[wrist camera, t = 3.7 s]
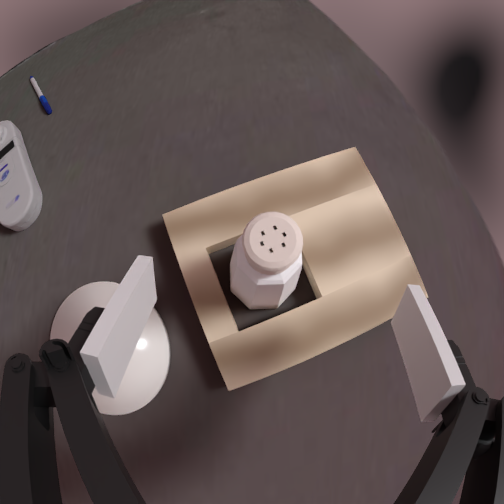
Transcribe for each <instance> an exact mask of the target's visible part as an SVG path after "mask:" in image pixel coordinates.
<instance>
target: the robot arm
mask: <svg viewBox="0 0 504 504" xmlns="http://www.w3.org/2000/svg"><path fill="white" fill-rule="evenodd" d="M156 301H157V295H156V286H155V277H154V268H153V257H149V256H141V255H138V257H137V258H136V260H135V261H134V263H133V264H132V266H131V267H130V269H129V271H128V272H127V274H126V275H125V277H124V278H123V280H122V282H121V283H120V285H119V286H118V288H117V290H116V291H115V293H114V294H113V296H112V298H111V299H110V301H109V303H108V304H107V306H106V308H101V307H96V306H95V307H94V308H93V309H91V310H90V311H89V312H87V313H86V315H85V317H84V318H83V320H82V323H80V325H79V326H78V329H76V331H75V333H74V334H73V336H72V338H71V339H70V341H69V343H67V342H66V341H64V340H63V339H51V340H49V341H47V342H46V343H44V344H43V345H42V347H41V349H40V351H39V357H40V359H41V360H42V362H31V360H30V358H29V357H28V356H27V355H25V354H21V353H18V354H15V355H13V356H11V357H10V358H9V359H8V360H7V362H6V364H5V368H4V375H3V383H2V392H1V401H0V504H62V500H61V493H60V487H59V479H58V472H57V463H56V452H55V440H54V422H53V407H57V411H58V414H59V417H60V421H61V424H62V427H63V430H64V433H65V436H66V438H67V441H68V444H69V447H70V450H71V452H72V455H73V457H74V460H75V462H76V465H77V467H78V470H79V472H80V475H81V477H82V479H83V482H84V484H85V486H86V488H87V491H88V493H89V495H90V497H91V499H92V501H93V503H94V504H146V503H145V501H144V500H143V498H142V496H141V495H140V493H139V491H138V489H137V488H136V486H135V484H134V482H133V481H132V479H131V477H130V475H129V473H128V471H127V469H126V468H125V466H124V464H123V462H122V460H121V458H120V456H119V454H118V452H117V450H116V448H115V446H114V444H113V442H112V439H111V437H110V435H109V433H108V431H107V429H106V426H105V424H104V422H103V420H102V417H101V415H100V412H99V410H98V408H97V405H96V403H95V400H94V398H93V396H92V392H93V390H94V388H96V390H97V392H98V394H100V395H103V396H107V397H110V398H114V399H115V396H116V394H117V391H118V389H119V386H120V384H121V381H122V379H123V376H124V374H125V372H126V369H127V367H128V364H129V362H130V360H131V357H132V355H133V352H134V350H135V348H136V345H137V343H138V341H139V339H140V336H141V334H142V332H143V329H144V327H145V325H146V323H147V320H148V318H149V316H150V314H151V312H152V309H153V307H154V305H155V303H156ZM391 325H392V328H393V331H394V334H395V337H396V340H397V343H398V346H399V349H400V352H401V355H402V358H403V361H404V364H405V367H406V371H407V374H408V377H409V381H410V384H411V388H412V391H413V394H414V398H415V402H416V405H417V409H418V413H419V417H420V420H421V422H428V421H435V420H436V419H437V417H438V416H439V415H440V414H442V418H443V420H442V421H441V422H440V423H439V424H438V425H437V426H436V427H435V428H434V429H433V431H432V433H434V432H435V431H436V432H435V434H434V436H433V438H432V440H431V442H430V444H429V446H428V447H427V449H426V451H425V453H424V455H423V457H422V459H421V460H420V462H419V464H418V466H417V467H416V469H415V471H414V472H413V474H412V476H411V477H410V479H409V481H408V482H407V484H406V486H405V487H404V489H403V490H402V492H401V493H400V495H399V496H398V498H397V499H396V501H395V502H394V504H451V503H452V501H453V499H454V497H455V495H456V493H457V491H458V489H459V487H460V484H461V482H462V480H463V478H464V475H465V473H466V475H465V480H464V485H463V490H462V494H461V499H460V503H459V504H504V397H503V398H502V399H501V400H496V399H491V398H489V396H488V394H487V393H486V392H485V391H484V390H483V389H481V388H479V387H476V386H475V383H474V381H473V379H472V376H471V374H470V372H469V369H468V367H467V365H466V364H465V360H464V358H463V357H462V354H461V351H460V349H459V347H458V346H457V345H456V344H455V343H454V342H453V341H452V340H447V339H446V337H445V335H444V333H443V331H442V329H441V327H440V324H439V322H438V320H437V318H436V316H435V314H434V312H433V310H432V308H431V306H430V304H429V302H428V300H427V298H426V296H425V295H424V293H423V291H422V289H421V287H420V285H410V284H408V285H407V287H406V289H405V292H404V294H403V297H402V299H401V301H400V304H399V306H398V308H397V310H396V313H395V315H394V317H393V319H392V321H391Z"/></svg>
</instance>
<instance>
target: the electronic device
mask: <svg viewBox="0 0 504 504" xmlns="http://www.w3.org/2000/svg"><path fill="white" fill-rule="evenodd" d="M41 207H42V192H41V189H40V187H39V184H38V182H37V179H36V176H35V174H34V171H33V168H32V165H31V162H30V159H29V157H28V154H27V150H26V147H25V144H24V141H23V138H22V135H21V132H20V131H19V129H18V128H17V127H16V126H15V125H14V124H13V123H12V122H11V121H8V120H6V121H1V122H0V223H1V224H2V225H3V226H5V227H7V228H10V229H12V230H14V231H17V232H18V231H23V230H25V229H27V228H28V227H29V226H30V225H31V224H32V223H33V222H34V221H35V220H36V218H37V217H38V215H39V213H40V211H41Z"/></svg>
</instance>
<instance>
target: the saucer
mask: <svg viewBox="0 0 504 504" xmlns="http://www.w3.org/2000/svg"><path fill="white" fill-rule="evenodd" d="M119 285H120V284H118V283H114V282H106V281H105V282H94V283H90V284H87V285H84V286H82V287H80V288H78V289H77V290H75V291H74V292H72V293H71V294H70V295H69V296H68V297H67V298H66V299H65V300H64V302H63V303H62V304H61V306H60V307H59V309H58V311H57V313H56V315H55V318H54V321H53V324H52V328H51V335H50V340H51V339H63V340H64V341H66V342H67V343H69V341H70V339H71V338H72V336H73V334H74V333H75V331H76V329H78V326H79V325H80V323H82V320H83V318H84V317H85V315H86V313H87V312H89V311H90V310H91V309H93V308H94V307H95V306H96V307H101V308H106V306H107V304H108V303H109V301H110V299H111V298H112V296H113V294H114V293H115V291H116V290H117V288H118V286H119ZM170 360H171V348H170V341H169V336H168V333H167V329H166V327H165V324H164V322H163V320H162V318H161V316H160V315H159V313H158V311H157V310H156V309H155V307H153V309H152V312H151V314H150V316H149V318H148V320H147V323H146V325H145V327H144V329H143V332H142V334H141V336H140V339H139V341H138V343H137V345H136V348H135V350H134V352H133V355H132V357H131V360H130V362H129V364H128V367H127V369H126V372H125V374H124V376H123V379H122V381H121V384H120V386H119V389H118V391H117V394H116V396H115V399H114V398H110V397H107V396H103V395H100V394H98V392H97V390H96V388H94V390H93V392H92V396H93V398H94V400H95V403H96V405H97V408H98V410H99V412H100V413H103V414H108V415H123V414H128V413H131V412H134V411H136V410H138V409H140V408H142V407H143V406H145V405H146V404H148V403H149V402H150V401H151V400H152V399H153V398H154V397H155V396H156V395H157V394H158V393H159V391H160V390H161V389H162V387H163V385H164V383H165V381H166V378H167V375H168V372H169V367H170Z"/></svg>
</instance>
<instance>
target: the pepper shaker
mask: <svg viewBox="0 0 504 504" xmlns="http://www.w3.org/2000/svg"><path fill="white" fill-rule="evenodd" d="M302 247H303V235H302V233H301V230H300V228H299V226H298V225H297V223H296V222H295V221H294V220H293V219H292V218H290V217H289V216H287V215H285V214H283V213H279V212H265V213H261V214H259V215H257V216H255V217H253V218H252V219H251V220H250V221H249V222H248V223H247V225H246V227H245V229H244V231H243V234H242V235H241V236H240V237H239V238H238V239H237V241H236V243H235V246H234V250H233V254H232V258H231V262H230V291H231V292H232V293H233V294H234V295H235V296H236V297H237V298H239V299H240V300H241V301H242V302H243V303H244V304H245V305H246V306H247V307H248V308H249V309H276V308H278V307H279V306H280V305H281V304H282V303H283V302H284V301H285V300H286V298H287V297H288V296H289V295H290V294H291V293H292V292H293V291H294V290H295V288H296V285H297V282H298V279H299V275H300V272H301V269H302Z"/></svg>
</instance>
